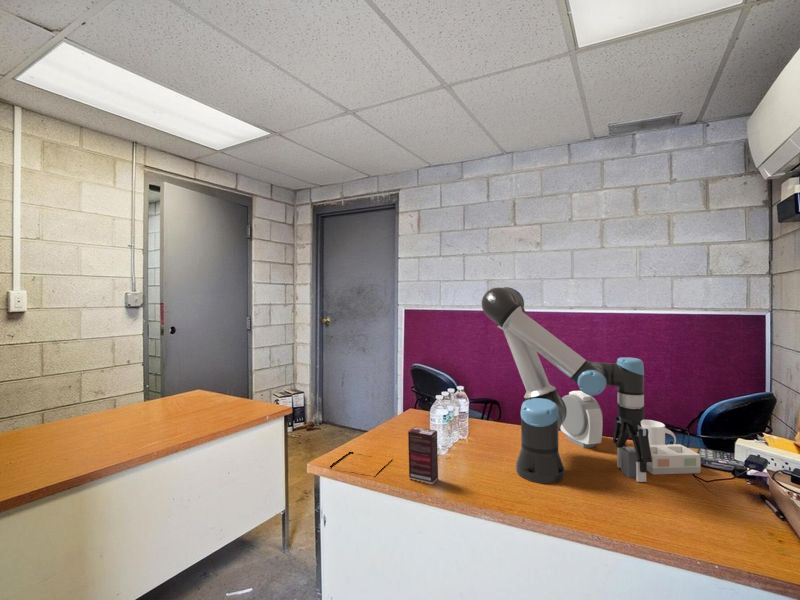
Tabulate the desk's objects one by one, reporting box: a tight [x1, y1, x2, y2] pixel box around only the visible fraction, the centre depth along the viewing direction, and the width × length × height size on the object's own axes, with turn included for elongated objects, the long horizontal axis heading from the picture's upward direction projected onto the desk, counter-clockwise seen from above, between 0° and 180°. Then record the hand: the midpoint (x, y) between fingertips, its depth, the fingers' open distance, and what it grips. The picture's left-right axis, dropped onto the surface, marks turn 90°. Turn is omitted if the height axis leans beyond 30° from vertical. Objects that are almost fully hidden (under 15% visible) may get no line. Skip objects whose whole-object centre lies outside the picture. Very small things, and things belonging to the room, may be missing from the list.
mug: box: [641, 419, 677, 445], centre depth 145 cm, size 9×12×11 cm
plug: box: [620, 446, 638, 479], centre depth 128 cm, size 4×4×9 cm
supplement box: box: [407, 426, 439, 485], centre depth 127 cm, size 9×5×16 cm, turn 61°
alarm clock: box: [559, 390, 604, 449], centre depth 156 cm, size 18×8×20 cm, turn 14°
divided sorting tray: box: [641, 443, 702, 475], centre depth 132 cm, size 16×9×6 cm, turn 92°
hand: (631, 473), depth 128 cm, fingers open, 9 cm apart
